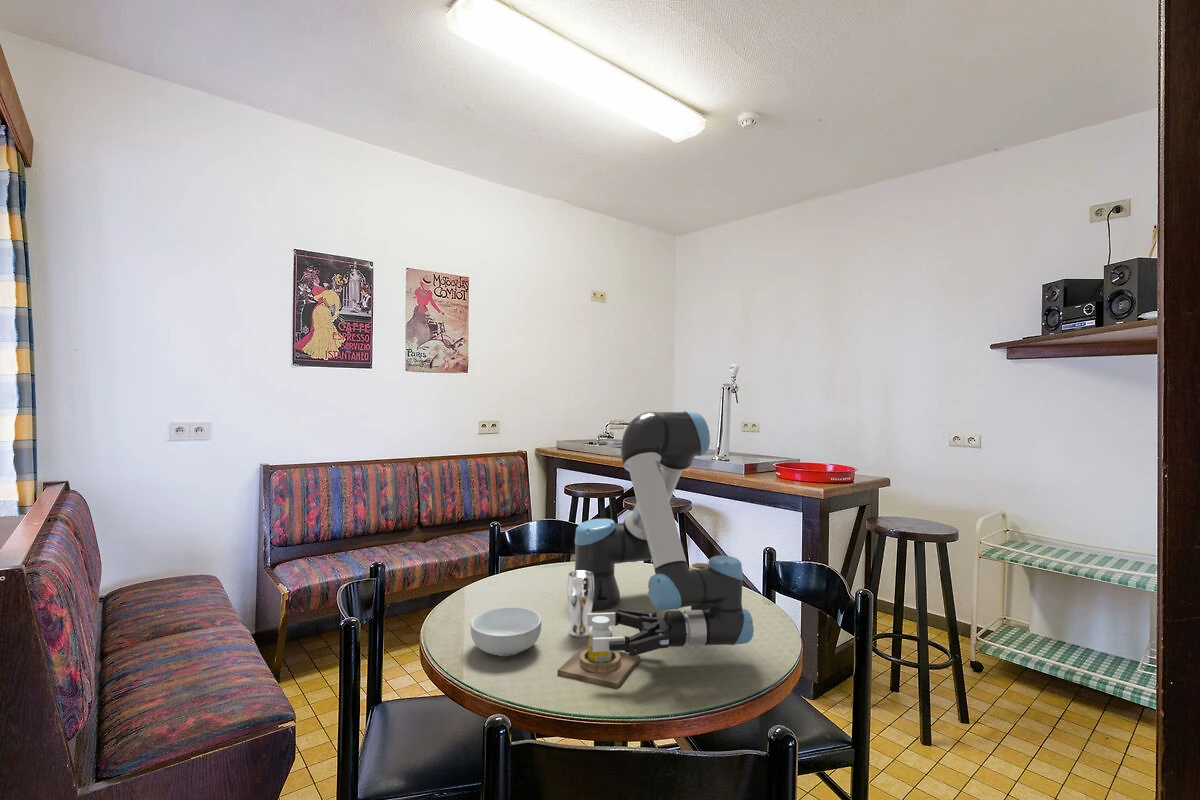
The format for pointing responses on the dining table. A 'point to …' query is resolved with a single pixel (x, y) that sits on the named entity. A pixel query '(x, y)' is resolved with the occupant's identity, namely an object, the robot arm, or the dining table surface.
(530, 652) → the dining table surface
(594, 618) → the supplement bottle
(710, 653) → the dining table surface
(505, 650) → the cereal bowl
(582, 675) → the collar stand
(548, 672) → the dining table surface
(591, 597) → the silver metal tumbler
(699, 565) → the character mug
